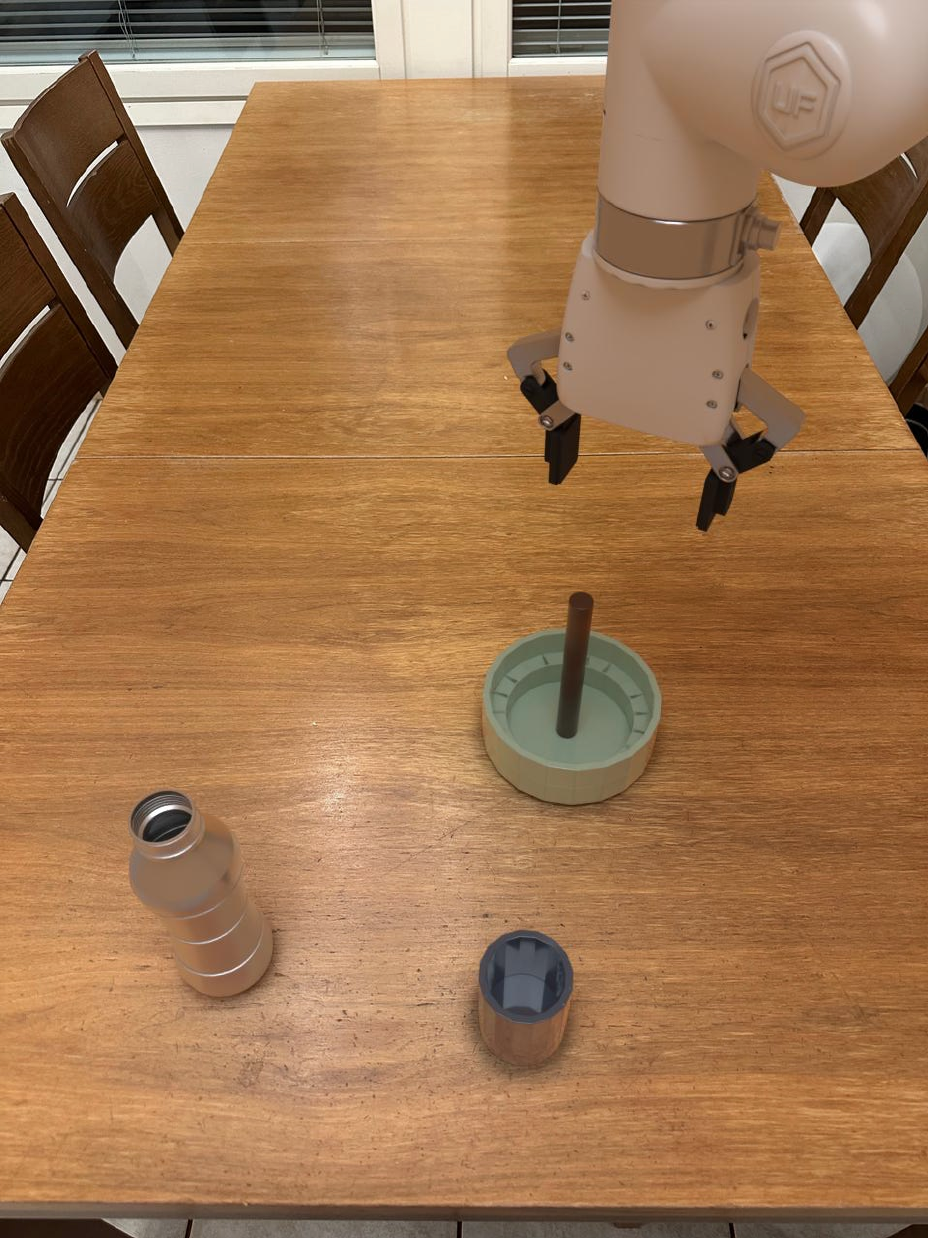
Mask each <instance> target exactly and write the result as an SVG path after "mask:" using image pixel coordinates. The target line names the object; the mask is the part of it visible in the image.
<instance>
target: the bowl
mask: <svg viewBox="0 0 928 1238" xmlns="http://www.w3.org/2000/svg"><path fill="white" fill-rule="evenodd" d="M565 633H566V627H561V628H559V627H558V628H551V629H542V630H539V631H536V632H533V633H531V634H529V635H526V636H525V635H524V636H523V637H520V638H518V639H516V641H514V642H513V643H511V644H510V645H509V646H507V647H506V648H504V649H503V650H502V651H500V652H499V653H498V655H497V656H496V658H495V659H494V661H493V662H492V664H491V665H490V666H489V668H488V670H487V671H486V673H485V678H484V683H483V687H482V692H481V711H482V712H481V717H482V718H481V723H482V724H481V730H482V731H481V732H482V737H483V742H484V747H485V748H484V749H485V751H486V754H487V755H488V757H489V759H490V761H491V762H492V764H493V765H494V767H495V769H496V771H497V772H498V773H499V774H500V775H501V776H502V777H503V778H505V779H506V780H507V782H509V783H510V784H511V785H512V786H513V787H515V788H516V789H517V790H519V791H522V792H524V793H525V794H527V795H530V796H532V797H534V798H536V799H539V800H540V801H544V802H550V803H554V804H555V803H556V804H562V805H570V806H572V805H573V806H575V805H583V804H591V803H599V802H602V801H604V800H605V801H606V800H607V799H610V798H611V797H614V796H615V795H618V794H621V793H623V792H625V791H626V790H627V789H628V788H629V787H630V786H631V785H633V783H634V782H635V781H637V780H638V779H639V778H640V777H641V776H642V775H643V773H644V772H645V769H646V767H647V765H648V763H649V761H650V759H651V757H652V755H653V752H654V747H655V743H656V739H657V736H658V731H659V727H660V721H661V716H662V701H663V699H662V698H663V696H662V693H661V689H660V686H659V684H658V681H657V679H656V675H655V673H654V672H653V670H652V669H651V668H650V666H649V665H648V664H647V663H646V661H645V660H644V659H643V657H641V656H640V654H639V653H637V652H636V651H634V650H633V649H632V648H630V647H628V646H627V645H626V644H625V643H623V642H621V640H619V639H616V638H614V637H611V636H608V635H607V634H603V633H600V632H598V631H596V630H590V637H589V645H588V653H587V660H586V668H585V676H584V683H583V691H582V699H581V707H580V714H579V722H578V730H577V734H576V735H575V736H574V737H572V738H568V739H566V738H562V737H560V736H559V735H558V734H557V732H556V723H557V713H558V703H559V693H560V683H561V673H562V663H563V653H564V643H565Z"/></svg>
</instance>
